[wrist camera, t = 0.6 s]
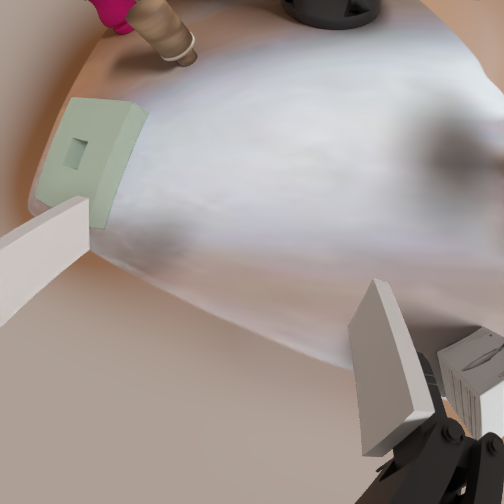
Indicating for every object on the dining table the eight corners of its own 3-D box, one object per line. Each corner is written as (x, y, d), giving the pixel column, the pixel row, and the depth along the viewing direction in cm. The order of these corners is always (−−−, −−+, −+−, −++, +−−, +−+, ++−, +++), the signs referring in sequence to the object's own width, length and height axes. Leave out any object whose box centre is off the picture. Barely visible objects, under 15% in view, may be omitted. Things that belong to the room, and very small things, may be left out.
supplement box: (483, 324, 26) (540, 353, 14) (489, 373, 25) (538, 414, 13) (434, 350, 28) (479, 395, 16) (443, 398, 27) (480, 453, 15)
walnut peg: (181, 45, 36) (139, -4, 24) (210, 46, 35) (171, -9, 22) (166, 71, 37) (117, 25, 24) (195, 74, 35) (148, 21, 23)
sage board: (86, 105, 41) (71, 97, 37) (148, 113, 37) (133, 102, 33) (50, 199, 43) (34, 197, 39) (104, 229, 39) (85, 227, 35)
